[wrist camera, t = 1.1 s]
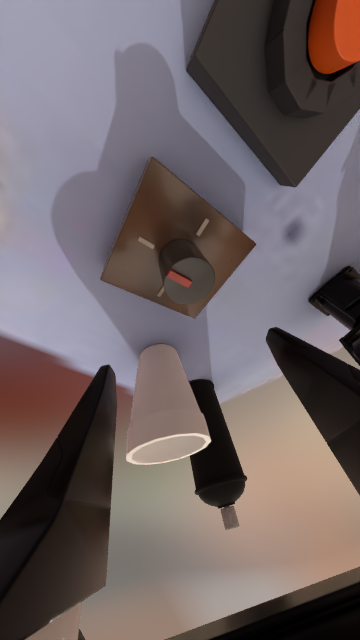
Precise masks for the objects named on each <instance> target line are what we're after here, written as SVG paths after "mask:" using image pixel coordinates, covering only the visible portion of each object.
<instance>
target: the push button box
mask: <svg viewBox="0 0 360 640" xmlns="http://www.w3.org/2000/svg"><path fill="white" fill-rule="evenodd" d="M315 1H316V0H215V1H214V3H213V6H212V8H211V11H210V13H209V15H208V18H207V20H206V23H205V25H204V27H203V30H202V32H201V35H200V37H199V39H198V42H197V44H196V47H195V49H194V51H193V54H192V56H191V59H190V61H189V64H188V66H187V69H186V70H187V72H188V73H189V74H190V76H191V77H192V78H193V79H194V80H195V82H196V83H197V84H198V85H199V86H200V88H201V89H202V90H203V91H204V93H205V94H206V95H207V96H208V97H209V99H210V100H211V101H212V102H213V104H214V105H215V106H216V107H217V108H218V110H219V111H220V112H221V113H222V114H223V116H224V117H225V118H226V119H227V121H228V122H229V123H230V124H231V125H232V127H233V128H234V129H235V130H236V132H237V133H238V134H239V135H240V136H241V138H242V139H243V140H244V141H245V142H246V144H247V145H248V146H249V147H250V149H251V150H252V151H253V152H254V153H255V155H256V156H257V157H258V158H259V160H260V161H261V162H262V163H263V164H264V166H265V167H266V168H267V169H268V170H269V172H270V173H271V174H272V175H273V177H274V178H275V179H276V180H277V181H278V183H279V184H280V185H283V186H290V187H297V185H298V184H299V183H300V182H301V181H302V179H303V178H304V177H305V176H306V174H307V173H308V172H309V171H310V169H311V168H312V167H313V166H314V164H315V163H316V162H317V161H318V160H319V158H320V157H321V156H322V155H323V153H324V152H325V151H326V150H327V148H328V147H329V146H330V145H331V143H332V142H333V141H334V140H335V138H336V137H337V136H338V135H339V134H340V132H341V131H342V130H343V129H344V127H345V126H346V125H347V124H348V122H349V121H350V120H351V119H352V117H353V116H354V115H355V114H356V113H357V111H358V110H359V109H360V61H358V62H356V63H354V64H351V65H349V66H347V67H345V68H343V69H340V70H338V71H336V72H334V73H331V74H322V73H320V72H318V71H317V70H316V69H315V68H314V66H313V65H312V63H311V60H310V56H309V50H308V32H309V24H310V19H311V14H312V11H313V7H314V4H315Z"/></svg>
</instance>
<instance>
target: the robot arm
mask: <svg viewBox="0 0 360 640" xmlns="http://www.w3.org/2000/svg"><path fill="white" fill-rule="evenodd" d="M309 302H310V303H311V304H312V305H313V306H315V307H316V308H317V309H319V310H320V311H321V312H323V313H324V314H325V315H327V316H329V315H331V316H332V317H334V318H335V319H336V320H338V321H339V322H340V323H342V324H343V325H344V326H345V327H347V328H348V329H349V330H351V331H350V332H349V333H347V334H346V335H345V336H344V337H342V338H341V339H340V340H339V341H340V342H341V343H342V345H343V346H344V348H345V349H346V350H347V351H348V352H349V354H350V355H351V356H352V357H353V358H354V360H355V361H356V362H357V363H358V364H359V366H360V275H359V274H358V273H357V271H356V270H355V269H354V268H353V267H351V266H348V267H347V268H345V269H344V270H343V271H342V272H341V273H339V274H338V275H337V276H336V277H335V278H334V279H332V280H331V281H330V282H329V283H328V284H327V285H326V286H324V287H323V288H322V289H321V290H320V291H319V292H317V293H316V294H315V295H314V296H313V297H312V298H310V299H309ZM266 342H267V344H268V346H269V348H270V350H271V352H272V354H273V356H274V358H275V360H276V362H277V364H278V366H279V368H280V369H281V371H282V372H283V374H284V376H285V377H286V379H287V380H288V382H289V384H290V385H291V387H292V388H293V390H294V392H295V393H296V395H297V396H298V398H299V399H300V401H301V403H302V404H303V406H304V407H305V409H306V411H307V412H308V414H309V415H310V417H311V419H312V420H313V422H314V423H315V425H316V426H317V428H318V430H319V431H320V433H321V434H322V436H323V438H324V439H325V441H326V442H327V444H328V446H329V447H330V449H331V451H332V452H333V454H334V455H335V457H336V459H337V460H338V462H339V463H340V465H341V466H342V468H343V469H344V471H345V473H346V474H347V476H348V478H349V479H350V481H351V482H352V484H353V485H354V487H355V489H356V490H357V492H358V493H359V495H360V370H359V369H357V368H355V367H353V366H351V365H349V364H347V363H345V362H343V361H341V360H340V359H338V358H336V357H334V356H332V355H330V354H328V353H326V352H324V351H322V350H320V349H318V348H316V347H314V346H313V345H311V344H309V343H307V342H305V341H303V340H301V339H299V338H297V337H295V336H293V335H291V334H289V333H287V332H285V331H284V330H282V329H280V328H277V327H274V328H270V329H269V330H268V333H267V336H266ZM116 411H117V395H116V377H115V373H114V371H113V369H112V368H111V366H110V365H104V366H101V367H100V369H99V370H98V372H97V373H96V375H95V377H94V378H93V380H92V381H91V383H90V385H89V386H88V388H87V390H86V391H85V393H84V395H83V396H82V398H81V399H80V401H79V403H78V404H77V406H76V408H75V409H74V411H73V412H72V414H71V416H70V417H69V419H68V420H67V422H66V424H65V425H64V427H63V429H62V430H61V432H60V433H59V435H58V438H56V440H55V441H54V443H53V445H52V446H51V448H50V449H49V451H48V453H47V454H46V456H45V457H44V459H43V461H42V462H41V464H40V465H39V466H38V468H37V469H36V471H35V472H34V473H33V475H32V476H31V478H30V479H29V481H28V482H27V483H26V485H25V486H24V487H23V489H22V490H21V492H20V493H19V495H18V496H17V497H16V499H15V500H14V501H13V503H12V504H11V506H10V507H9V508H8V510H7V511H6V513H5V514H4V515H3V517H2V518H1V520H0V640H85V638H84V636H83V635H82V633H81V631H80V629H79V623H80V614H81V604H82V601H84V600H85V599H87V598H88V597H90V596H91V595H93V594H94V593H96V592H97V591H99V590H100V589H102V588H103V587H105V585H106V574H107V558H108V541H109V526H110V510H111V507H110V506H111V492H112V475H113V459H114V445H115V444H114V443H115V429H116ZM165 640H360V567H358V568H355V569H352V570H350V571H347V572H344V573H342V574H339V575H336V576H334V577H331V578H328V579H326V580H323V581H320V582H318V583H315V584H312V585H310V586H307V587H304V588H302V589H299V590H296V591H294V592H291V593H288V594H285V595H283V596H280V597H278V598H275V599H273V600H269V601H267V602H264V603H261V604H259V605H256V606H254V607H251V608H248V609H245V610H243V611H240V612H238V613H235V614H232V615H229V616H227V617H224V618H222V619H219V620H216V621H213V622H211V623H208V624H205V625H203V626H200V627H197V628H195V629H192V630H189V631H187V632H185V633H181V634H179V635H176V636H173V637H171V638H168V639H165Z"/></svg>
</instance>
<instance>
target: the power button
mask: <svg viewBox="0 0 360 640" xmlns="http://www.w3.org/2000/svg"><path fill="white" fill-rule="evenodd" d="M308 50H309V56H310V60H311V63H312V65H313V66H314V68H315V69H316V70H317V71H318V72H320V73H322V74H331V73H334V72H336V71H338V70H340V69H343V68H345V67H347V66H349V65H351V64H354V63H356V62H358V61H360V0H316V1H315V4H314V7H313V11H312V14H311V19H310V24H309V32H308Z"/></svg>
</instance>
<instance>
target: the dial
mask: <svg viewBox="0 0 360 640" xmlns="http://www.w3.org/2000/svg"><path fill="white" fill-rule="evenodd" d="M158 265H159V270H160V274H161V278H162V282H163V287H164V291H165V293H166V295H167V296H168V297H169V298H170V299H171V300H172V301H174V302H176V303H178V304H183V305H188V304H194V303H197V302H199V301H201V300H202V299H204V298H205V297H206V296H207V295H208V294H209V293H210V292H211V290H212V288H213V286H214V283H215V272H214V269H213V267H212V266H211V264H210V263H209V262H208V260H207V259H206V258H205V257H204V255H203V254H202V253H201V251H200V250H199V249H198V247H197V246H196V245H195V244H194V243H192V242H191V241H188V240H184V239H179V240H175V241H172V242H170V243H169V244H167V245H166V246H165V247H164V248H163V249H162V251H161V253H160V255H159V259H158Z"/></svg>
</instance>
